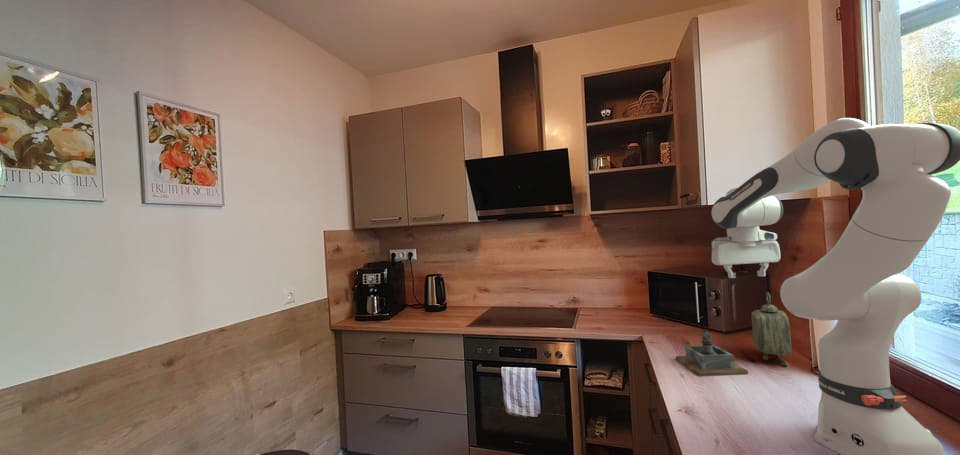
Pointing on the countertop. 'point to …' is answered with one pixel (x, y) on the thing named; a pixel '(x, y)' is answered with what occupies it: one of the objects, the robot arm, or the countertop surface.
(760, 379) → the countertop surface
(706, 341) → the grey chess piece
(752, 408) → the countertop surface
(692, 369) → the socket caddy
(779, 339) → the green tall textured piece
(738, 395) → the countertop surface
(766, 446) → the countertop surface
